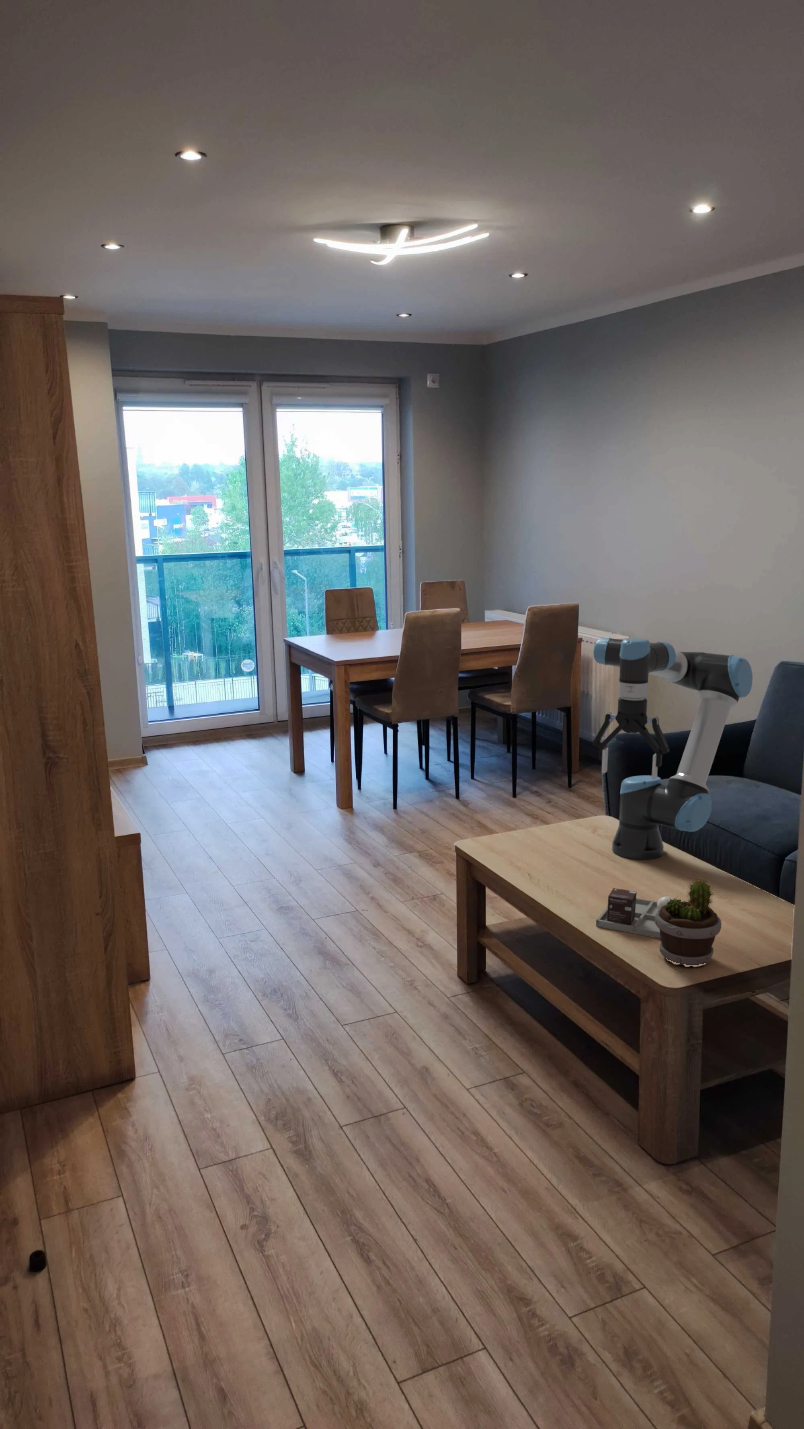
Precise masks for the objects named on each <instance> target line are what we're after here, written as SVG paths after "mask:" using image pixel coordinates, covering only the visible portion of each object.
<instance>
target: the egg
mask: <svg viewBox="0 0 804 1429" xmlns="http://www.w3.org/2000/svg"><path fill="white" fill-rule="evenodd" d="M670 898H671V899H672V900H674V897H671V896H668V895H666V896H665V895H664V896H662V897H660V898H659V899H658V900H657V908H658V911H659V910H660V909H661V907H662V906H664V905H667V903H668V902H669V901H670Z"/></svg>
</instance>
